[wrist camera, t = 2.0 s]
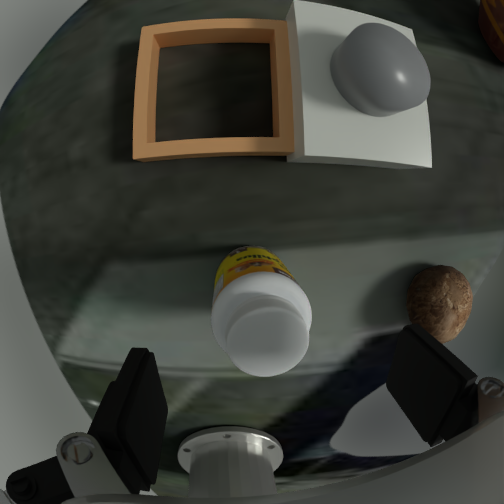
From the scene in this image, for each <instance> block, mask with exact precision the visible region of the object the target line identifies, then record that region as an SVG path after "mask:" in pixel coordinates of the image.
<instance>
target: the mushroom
mask: <svg viewBox="0 0 504 504" xmlns="http://www.w3.org/2000/svg"><path fill="white" fill-rule="evenodd" d="M472 299H473V295H472V291H471V287H470V283H469V282H468V281H467V279H466V278H465V276H464V275H463V274H462V273H461V272H459V271H458V270H456V269H455V268H453V267H450V266H444V265H438V266H434V267H431V268H427V269H425V270H424V271H422V272H421V273H419V274H417V275H416V276H415V277H414V279H413V281H412V283H411V285H410V287H409V289H408V293H407V302H406V307H407V311H408V315H409V319H410V321H411V323H412V324H419V325H420V326H421V327H423V328H424V329H425V330H426V331H427V332H429V333H430V334H431V335H432V336H433V337H434V338H436V339H437V340H438V341H439V342H440V343H441V344H443V343H445V342H448V341H451V340H453V339H454V338H455V337H456V336H457V335H458V334H459V333H460V331H461V330H462V329H463V327H464V326H465V324H466V321H467V319H468V317H469V315H470V313H471V307H472Z"/></svg>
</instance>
